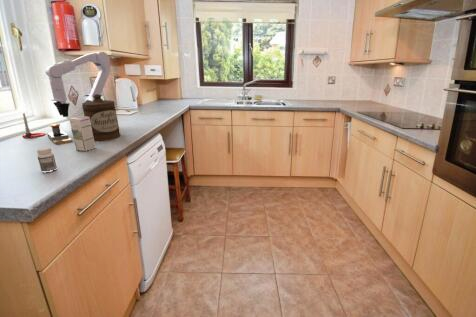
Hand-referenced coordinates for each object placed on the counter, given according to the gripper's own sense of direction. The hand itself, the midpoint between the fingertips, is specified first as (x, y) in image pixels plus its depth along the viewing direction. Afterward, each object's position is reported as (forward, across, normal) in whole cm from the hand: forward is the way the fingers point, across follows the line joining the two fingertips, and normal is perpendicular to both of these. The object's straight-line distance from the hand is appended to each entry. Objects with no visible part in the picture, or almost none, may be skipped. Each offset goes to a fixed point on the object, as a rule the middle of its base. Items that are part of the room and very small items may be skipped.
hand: (64, 115), depth 148 cm
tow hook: (+10, -8, -14) cm, 19 cm away
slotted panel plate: (+10, +10, -6) cm, 15 cm away
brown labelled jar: (+10, +23, +12) cm, 28 cm away
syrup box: (+10, +39, -1) cm, 40 cm away
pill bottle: (+10, +58, -18) cm, 62 cm away
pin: (+10, +10, -6) cm, 15 cm away
